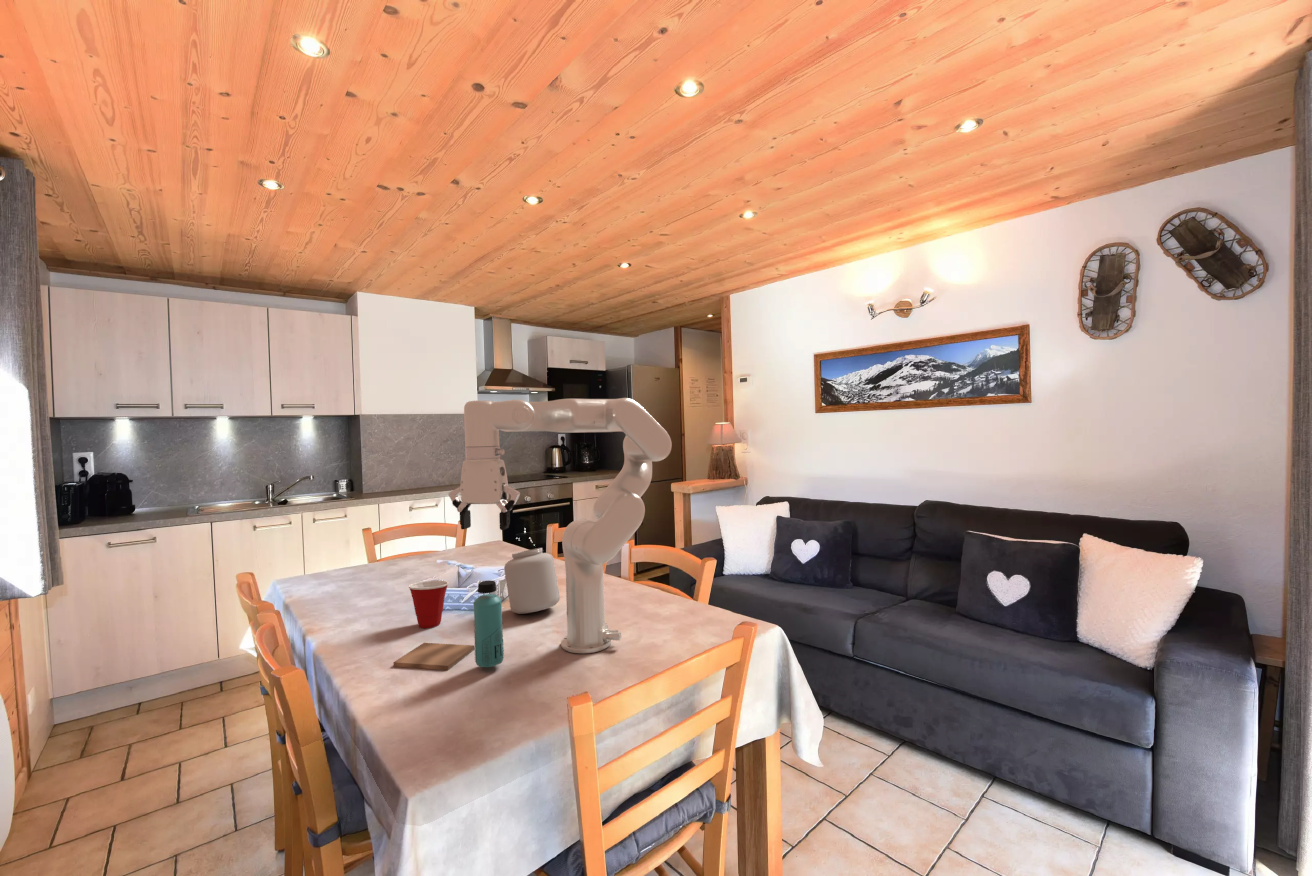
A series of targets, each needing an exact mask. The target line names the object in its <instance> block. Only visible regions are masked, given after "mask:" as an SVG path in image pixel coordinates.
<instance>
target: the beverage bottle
mask: <svg viewBox="0 0 1312 876" xmlns="http://www.w3.org/2000/svg"><path fill="white" fill-rule="evenodd" d="M494 592H497V583H496V581H495V580H492V579H491V580H482V581H480V582H478V583H477V593H478V594H482V595H479V596H478V597H477V598H476V599H475V600H474V601H473V615H474V616H473V618H474V629H473V630H474V642H473V643H474V649H475V650H473V651H474V660H475V663H476V666H478V667H480V668H490V667H495V666H498V665H500V664H501V663H502V662H503V661H504V655H505V654H504V653H505V647H504V645H505V643H504V630H503V624H504V622H503V621H504V620H503V611H502V609H503V608H502V607H503V606H502V598H501V597H500V596H498V595H497V594H495V593H494Z"/></svg>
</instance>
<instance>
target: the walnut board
mask: <svg viewBox="0 0 1312 876" xmlns="http://www.w3.org/2000/svg"><path fill="white" fill-rule="evenodd" d="M474 647H475V644H474V645H472V644H471V645H470V644H451V643H436V642H434V643H433V642H423V643H421V644H419V645H418V646H417V647H415V648H413V649H412V650H411V651H409V652H407V653H406V654H404V655H402V656H401V657H399V658H398V659H396V660H395V661H393V667H394V666H397V668H411V669H426V670H441V671H449V670H450V669H451V668H453V667H454V666H456V665H457V664H458V663H459V662H460V661H462V660H463V659H464V658H466V657H467V656H469V654H471V653H472V652H473V651H475V649H474ZM465 656H466V657H465Z"/></svg>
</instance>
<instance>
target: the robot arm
mask: <svg viewBox="0 0 1312 876" xmlns="http://www.w3.org/2000/svg"><path fill="white" fill-rule="evenodd" d="M463 415H464V416H463V418H464V446H465V448H464V449H465V450H464V451H465V460H463V462H462V465H461V466H462V467H461V473H460V485H459V486H458V487H457V488H455V489H452V490H451V491H449V492H448V496H449V499H450V501H451V502H452V503H451V504H452V505H453V506H454V507H455V508H456V511H457V513H459V524H460V529H461V530H466V529H470V528H471V527H472V520H471V519H472V518H471V517H472V516H471V510H470V509H469V508H470V507H471V506H472V505H496V506H497V507H498V509H500V512H499V516H498V517H499V519H498V520H499V529H500V531H505V530H507V529H509V528H510V524H511V510H512V509H513V508H514V507H515V506H516V504H517V501H518V500H519V498H520V495H521V492H520V491H518V490H516V489H515V488H513V487H511V486H509V482H508V474H507V468H506V464H505V461H504V459H501V456H504V455H505V452H506V451H505V449H504V448H501V446H500V431H502V432H507V433H510V432H511V433H512V432H551V433H560V434H561V433H565V434H566V433H567V434H568V433H570V434H571V433H613V432H614V433H615V432H622V433H624V434H625V437H624V439H623V442H622V448H623V449H622V450H623V454H624V455H623V456H624V458H623V459H624V462H623V466H622V469H621V470H620V472H619V473H618V474H617V475H616V476H615V478H614V479H613V480H612V481H611V482H610V483H609V485H607V487H606V488H605V489H604V490H603V491H602V492H601V493H600V494H599V495H598V497H597V498H596V499H595V501H594V504H593V509H592V510H593V515H594V517H595V518H596V519H597V520H596V522H595V521H593V520H589V519H586V518H585V519H583V518H581V519H575V520H573V521H572V522H570V523H569V524H568V525H567V526H566V527H565V529H564V531H563V533H562V537H561V538H562V539H561V540H562V541H561V542H562V543H561V544H562V547H561V548H562V552H563V558H564V566H565V590H566V591H565V593H566V629H567V631H566V632H567V633H566V634H567V635H565V636H564V637H563V638H562V639H561V641H560V643H561V648H562V649H563V650H564V651H566V652H569V653H574V654H591V653H597V652H600V651H603V650H606V649H607V648H609V647H610V645H611V644H612V641H616V642H617V641H618V642H620V641H621V640H622V632H619V629H611V628H609V623H606V621H605V620H606V619H605V575H604V573H605V572H604V565H603V564H606V563H607V562H610V561H611V560H612V559H614V557H616V555H617V554H618V553H619V552H620V551H621V549H622V548H624V546H625V545H626V544H627V543H628V541H629V540H630V539H631V538H632V537H633V535H634V534H635V533H636V531H637V530H638V529H639V528H640V526H641V525H642V523H643V521H644V518H645V513H646V508H645V503H644V501H643V499H642V496H643V495H644V494H645V492H646V491H647V490H648V488H649V486H650V485H651V481H652V478H653V462H660V461H663V460H664V459H666V458H668V457H669V455H670V454H671V451H672V445H673V444H672V438H671V436H670V435H669V433H668V431H667V430H666V429H665V428H664V427H663V426H662V424H660V423H659V422H658V421H657V420H656V419H655V418H654V417H653V416H652V415H651V414H650V413H649V412H648V411H647V410H646V409H645V408H644V407H643V406H642V405H641V404H640V403H639V402H637V401H635V400H634V399H632V398H629V397H622V398H621V397H620V398H561V399H554V400H548V401H547V400H546V401H545V400H544V401H526V400H524V399H510V400H509V399H508V400H501V401H499V400H498V401H494V400H469V401H468V402H466V403H465V404H464V407H463ZM459 495H460V498H459ZM509 495H510V500H509ZM508 500H509V501H508Z"/></svg>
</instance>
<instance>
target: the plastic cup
mask: <svg viewBox="0 0 1312 876" xmlns="http://www.w3.org/2000/svg"><path fill="white" fill-rule="evenodd" d="M449 584H450V581H447V580H424V581H423V580H422V581H418V582H417V581H416V582H413V583H409V585H407V586H408V589H409V590H410V594H411V597H412V601H413V602H412V603H413V607H414V612H415V616H416V620H417V624H418V627H419V629H432V628H435V627H438V626H439V625H440V624H441V622H442V618H443V617H442V615H443V611H444V604H445V597H446V593H447V590H448V586H449Z"/></svg>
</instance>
